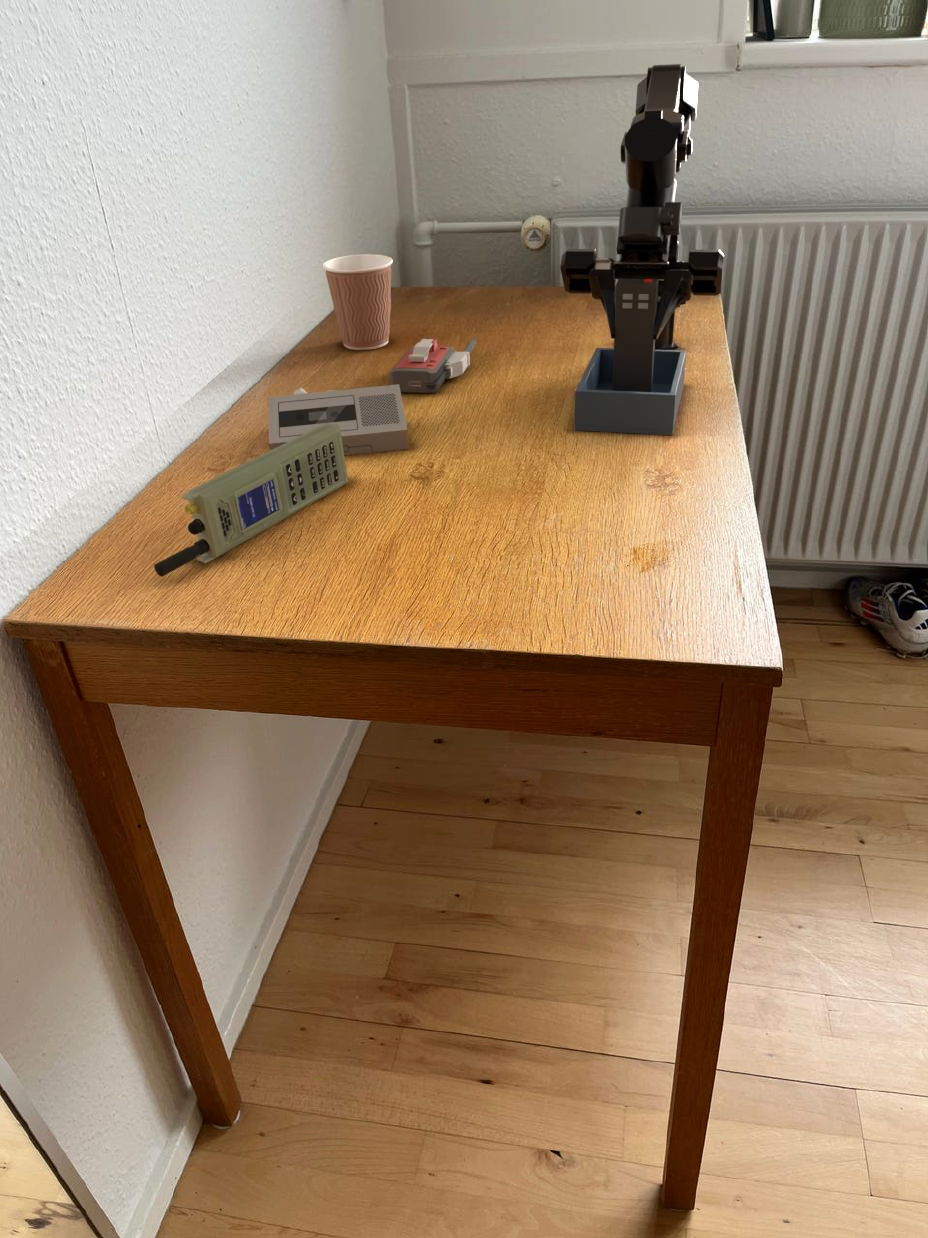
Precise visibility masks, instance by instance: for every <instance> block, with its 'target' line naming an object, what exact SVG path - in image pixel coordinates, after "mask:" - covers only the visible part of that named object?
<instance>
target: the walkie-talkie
mask: <svg viewBox="0 0 928 1238" xmlns="http://www.w3.org/2000/svg"><path fill="white" fill-rule="evenodd" d="M477 343H478V341H477V339H476V338H471V339H470V340H469V342H468V343H467V345H465V347H464V349H463V350H462V351H455V348H453V347H451V346H449V345H439V343H438V339H436V338H421V339H419V341H418V342H417V343H416V344H415V345H414V346H412V347H410V348H408V350H406V351H405V353H404V354H403V355H402V357H401V358H400V359H399V360H398V361H397V362H396V364H395V365H394V366H393V367H392V368H391V369H390V371H389V372H388V373H389V385H398V384H399V386H400V392H401V394H402V393H403V394H435V393H437V392H438V390H439V389H441V387H442V385H443V383H444V382H445V380H447V379H448V380H449V379H453V378H456V377H459V376H462V375H463V374H464V373H465V371H466V369H467V368H469V367H470V365H471V362H470V361H471V360H470V359H471V358H470V354H471V353H472V352H473V350H474V348H475V346H476V345H477Z"/></svg>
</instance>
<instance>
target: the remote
mask: <svg viewBox="0 0 928 1238" xmlns="http://www.w3.org/2000/svg"><path fill="white" fill-rule="evenodd" d="M658 281H659V280H652V279H617V281H616V282H615V287H616V302H615V338H614V339H613V348H614V361H613V390H612V391H633V392H651V391H652V385H653V368H654V351H655V340H653V332H654V325H655V319H656V315H657V298H658Z"/></svg>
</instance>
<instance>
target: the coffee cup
mask: <svg viewBox="0 0 928 1238" xmlns="http://www.w3.org/2000/svg"><path fill="white" fill-rule="evenodd" d="M393 261H394V260H393V258H392V257H390V256H388V255H383V254H374V253H363V254H362V253H361V254H359V253H358V254H349V255H343V256H338V257H335V258H331V259H328V260H326V261H324V263H323V264H322V269H324V270H325V277H326V280H327V284H328V289H329V293H330V297H331V301H332V306H333V310H334V314H335V318H336V321H337V323H336V324H337V327H338V331H339V334H340V338H341V341H342V344H343V346H344V347H345V348H346V349H349V350H353V351H369V350H375V349H379V348H382V347H385V346H386V345H388V343H389V337H390V334H391V333H390V332H391V331H390V329H391V328H390V327H391V310H392V301H391V300H392V294H391V293H392V292H391V291H392V290H391V286H392V283H391V282H392V267H391V265H392V264H393Z"/></svg>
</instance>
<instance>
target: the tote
mask: <svg viewBox="0 0 928 1238" xmlns="http://www.w3.org/2000/svg"><path fill="white" fill-rule="evenodd" d="M686 358H687V350H679V349H673V350H655V351H654V368H653V385H652V391H651V392H633V391H612V390H613V361H614V347H595V350H594V351H593V354H592V356H591V357H590V360H589V362H588V364H587V366H586V368H585V370H584V371H583V374H582V375H581V377H580V380H579V382H578V384H577V386H576V388H575V390H574V420H573V421H574V423H573V424H574V425H573V426H574V429H573V430H574V431H579V432H580V431H581V432H582V431H583V432H602V433H619V434H620V433H621V434H637V435H640V434H641V435H657V436H658V435H659V436H673V435H674V431H675V426H676V421H677V417H678V413H679V408H680V404H681V401H682V395H683V391H684V385H685V384H684V383H685V371H686Z"/></svg>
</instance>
